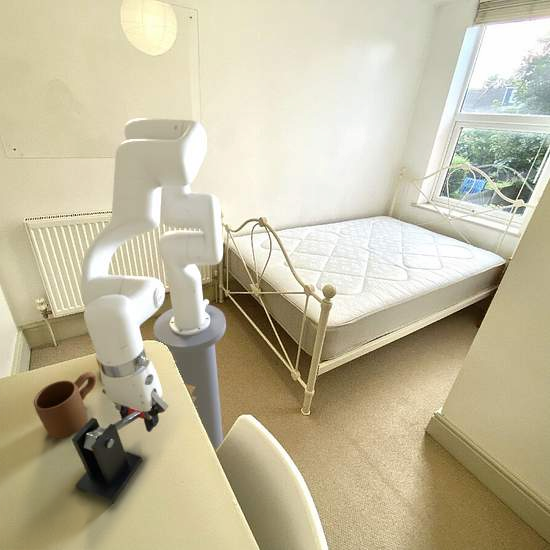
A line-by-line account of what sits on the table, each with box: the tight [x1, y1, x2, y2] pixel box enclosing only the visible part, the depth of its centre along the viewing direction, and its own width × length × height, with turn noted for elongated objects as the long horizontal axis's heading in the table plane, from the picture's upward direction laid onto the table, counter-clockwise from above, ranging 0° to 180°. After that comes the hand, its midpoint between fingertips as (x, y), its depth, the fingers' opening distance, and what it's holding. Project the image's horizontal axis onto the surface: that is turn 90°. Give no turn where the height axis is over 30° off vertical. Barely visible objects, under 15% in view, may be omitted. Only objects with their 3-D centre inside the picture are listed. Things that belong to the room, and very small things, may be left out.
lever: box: [84, 407, 145, 451], centre depth 58 cm, size 13×5×2 cm, turn 163°
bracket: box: [71, 417, 143, 505], centre depth 55 cm, size 8×8×13 cm
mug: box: [33, 371, 97, 439], centre depth 67 cm, size 12×8×9 cm, turn 153°
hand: (141, 421), depth 65 cm, fingers closed on lever, 5 cm apart
